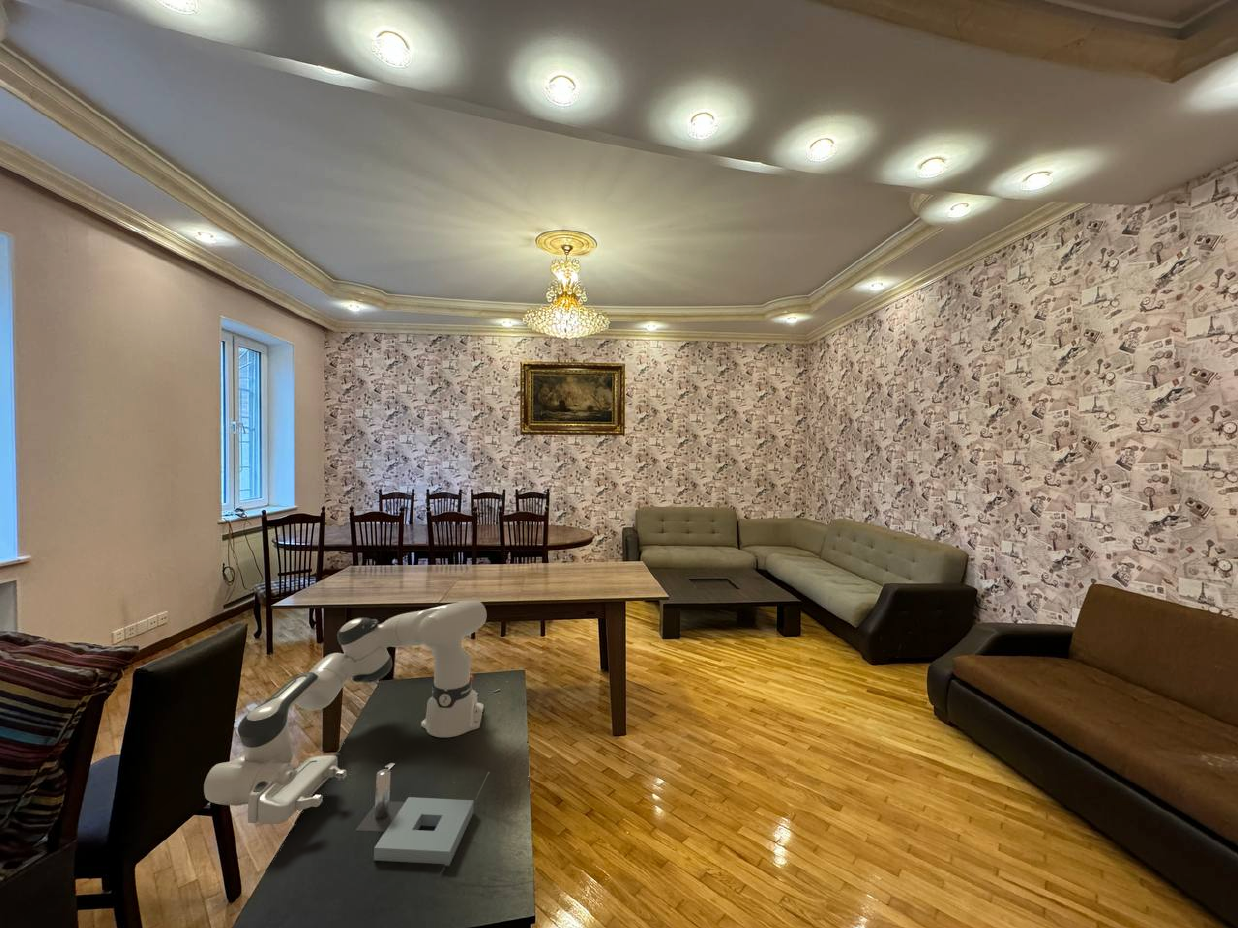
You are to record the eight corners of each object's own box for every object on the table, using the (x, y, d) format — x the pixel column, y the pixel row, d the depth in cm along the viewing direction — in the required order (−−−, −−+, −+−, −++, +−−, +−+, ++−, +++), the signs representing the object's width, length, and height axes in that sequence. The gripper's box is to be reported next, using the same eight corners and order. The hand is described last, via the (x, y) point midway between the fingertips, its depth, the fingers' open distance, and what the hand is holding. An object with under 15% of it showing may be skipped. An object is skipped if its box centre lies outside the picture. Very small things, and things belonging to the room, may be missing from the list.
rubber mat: (377, 802, 121) (377, 800, 121) (405, 803, 121) (405, 801, 121) (355, 831, 111) (355, 829, 111) (385, 833, 111) (385, 831, 111)
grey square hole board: (408, 809, 119) (408, 796, 119) (473, 812, 119) (473, 800, 119) (373, 861, 103) (374, 847, 103) (448, 865, 103) (449, 851, 103)
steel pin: (378, 810, 118) (380, 768, 118) (390, 811, 118) (392, 769, 118) (372, 819, 115) (374, 776, 115) (384, 820, 115) (386, 777, 115)
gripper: (304, 771, 127) (357, 773, 127) (242, 828, 107) (304, 831, 106) (305, 746, 127) (358, 749, 127) (243, 799, 107) (306, 802, 107)
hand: (333, 787), depth 117 cm, fingers open, 8 cm apart
